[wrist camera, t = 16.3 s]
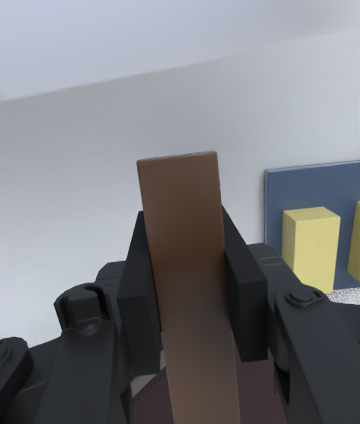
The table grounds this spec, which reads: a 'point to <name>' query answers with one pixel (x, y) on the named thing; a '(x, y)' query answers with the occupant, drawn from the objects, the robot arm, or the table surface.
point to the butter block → (311, 245)
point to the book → (246, 385)
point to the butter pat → (355, 246)
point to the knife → (191, 284)
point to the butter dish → (315, 204)
